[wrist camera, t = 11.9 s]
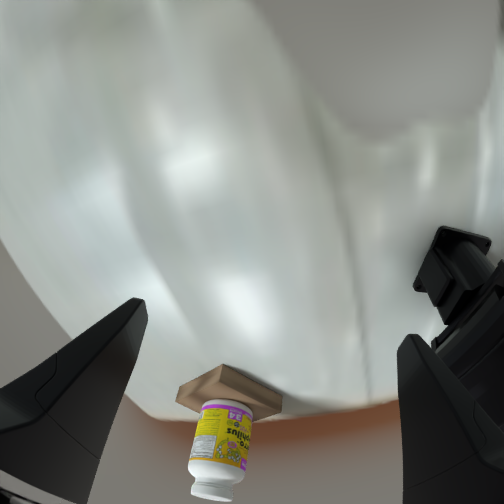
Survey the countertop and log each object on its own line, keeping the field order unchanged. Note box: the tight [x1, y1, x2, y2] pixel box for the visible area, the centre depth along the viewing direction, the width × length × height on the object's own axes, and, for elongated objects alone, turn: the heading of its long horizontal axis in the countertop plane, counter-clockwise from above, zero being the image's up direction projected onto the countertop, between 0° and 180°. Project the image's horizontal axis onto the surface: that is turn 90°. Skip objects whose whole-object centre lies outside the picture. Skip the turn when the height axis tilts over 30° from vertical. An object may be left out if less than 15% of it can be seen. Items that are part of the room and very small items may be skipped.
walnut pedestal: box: [175, 364, 282, 422], centre depth 35 cm, size 10×10×2 cm
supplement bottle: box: [188, 399, 253, 501], centre depth 29 cm, size 7×7×13 cm
